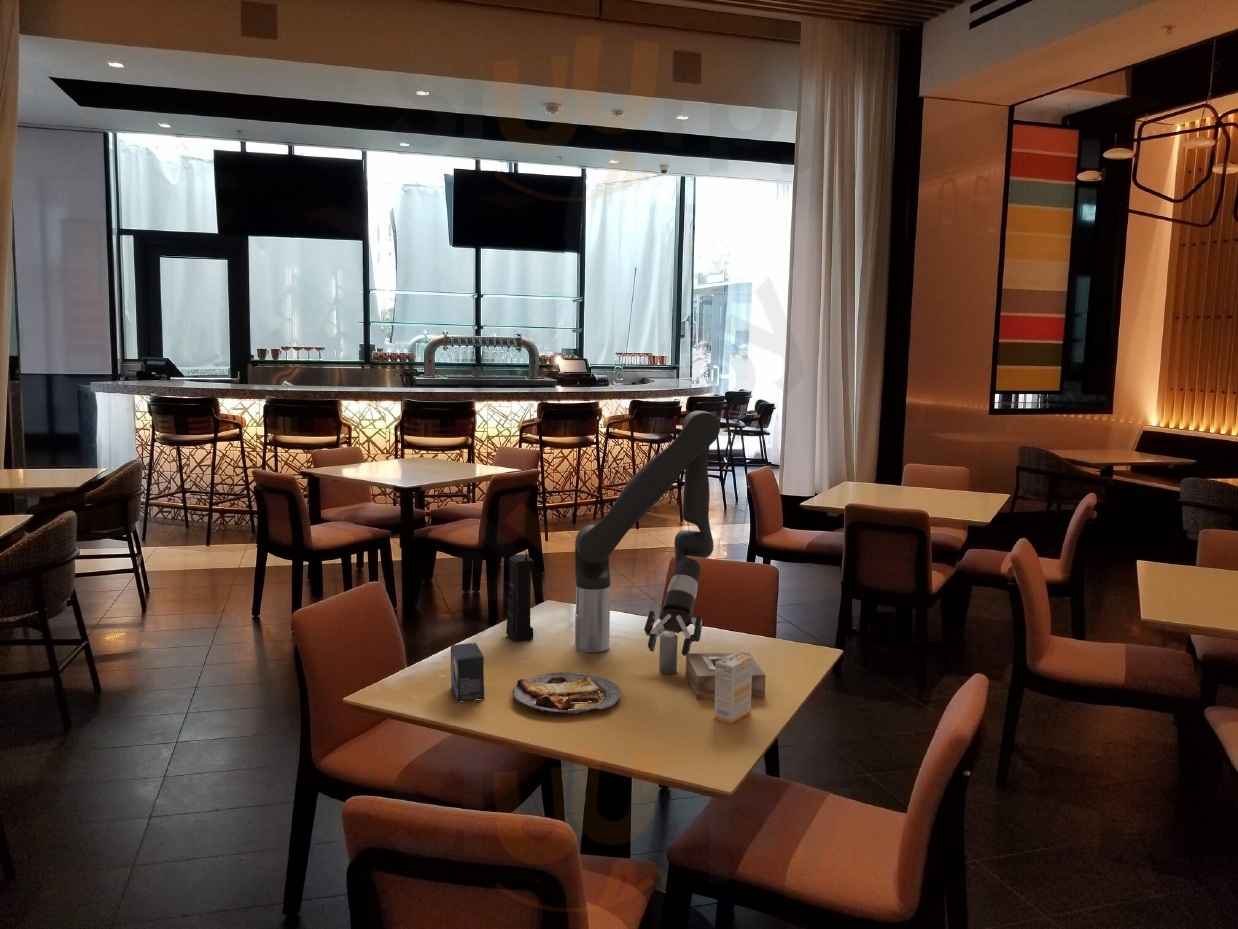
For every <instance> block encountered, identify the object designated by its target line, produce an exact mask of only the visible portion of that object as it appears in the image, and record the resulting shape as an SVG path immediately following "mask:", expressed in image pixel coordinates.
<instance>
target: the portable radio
mask: <svg viewBox="0 0 1238 929" xmlns="http://www.w3.org/2000/svg"><path fill="white" fill-rule="evenodd" d="M534 563H535V560H534V559H532V558H531V557H529V556H528V551H527V550H526V551H525V555H513V556H509V559H508V587H509V588H508V589H509V591H508V592H509V593H508V594H509V597H508V598H507V612H506V620H507V621H506V630H505V634H506V635H507V636H508V637H509V639H511V640H512V641H513V642H514V643H518V642H525V641H530V640H531V641H532V640H533V639H534V628H533V626H531V584H532V583H531V578H532V577H531V573H532V571H534V570H535V568H534V565H535V564H534Z"/></svg>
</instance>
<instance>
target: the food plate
mask: <svg viewBox="0 0 1238 929" xmlns="http://www.w3.org/2000/svg"><path fill="white" fill-rule="evenodd" d="M515 685H516V686H514V687H513V688H512V696H513V699H514V700H515V701H516V702H517V703H520V704H523V705H525V706H526V707H528V708H531V709H535V710H536V712H538V711H540V712H544V711H547V712H549V713H556V712H559V713H562V714H569V715H570V714H574V715H577V714H580V713H583V712H589V711H590V710H596V709H598V710H602V709H606V708H609V707H612V706H614V705H615V704H616V703H618V700H619V698H621V696H622V690H621V688H620V686H619V685H618V684H617V682H615V681H613V680H610V679H608V678H607V677H603V676H601V675H597V674H593V673H581V672H575V671H561V672H553V673H550V674H549V673H546V674H540V675H535V676H532V677H528V678H520V679H518V680H517V683H516V684H515ZM598 691H600V693H601V694H603V696H604V697H605V698H603V699H604V701H603V700H602V701H603V702H602V701H601V702H602V703H601V702H600V703H599V702H598V700H599V699H600V700H601V697H602V696H601V694H600V693H599V692H598ZM560 696H561V697H568V699H566V700H565V698H564V699H563V698H561V697H560ZM600 700H599V701H600ZM533 701H536V704H535V703H534V702H533ZM588 701H592V702H591V703H595V702H594V701H597V702H596V703H599V704H595V705H592V706H590V707H588V708H589V709H586V707H583V708H584V709H579V708H577V709H576V710H568V709H575V708H574V707H575V705H576V704H580V703H573V702H588ZM581 704H582V703H581ZM583 704H585V703H583ZM561 710H562V711H561ZM563 710H564V711H563Z"/></svg>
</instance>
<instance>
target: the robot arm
mask: <svg viewBox="0 0 1238 929" xmlns="http://www.w3.org/2000/svg"><path fill="white" fill-rule="evenodd" d="M720 430H721V423H720V420H719V419H718V417H717V416H716V415H715V414H714V413H711V412H708V411H705V410H694V411H692V412H689V413H688V414H687V415H686V416H685V417H684V419H683V421H682V426H681V431H680V432H679V434H678V435H677V436H676V437H675V439H674V440H673V441H672V442H671V443H670V444H669V445H668V446H667V447H666V448H664V449H663V450H662V451H661V452H659V453H658V454H656V455H655V456H654V457H653V458H651V459H650V460H648V461H647V462H646V463H645V464H644V465H643V466H642V467H641V468H640V469H639V470H638V471H637V472H636V473H635V474H634V475H633V476H632V477H631V479H630V480H628V481H627V483H626V485H625V486H624V487H623V489H622V491H620V494H619V495H618V496H617V498H616V501H615V502H614V504H613V505H612V507H611V508H610V510H608V512H607V513H606V515H605V516H603V517H602V519H600V520H599V521H598V522H597V523H596V524H588V525H585V526H583V527H582V528H580V530H579V531H578V532H577V534H576V537H575V544H574V568H575V571H574V572H575V574H574V575H575V612H574V618H575V619H574V622H575V623H574V648H575V651H576V652H583V653H592V654H593V653H601V652H605V651H608V650H609V648H610V631H611V630H610V629H611V628H610V622H611V621H610V618H611V617H610V616H611V612H610V611H611V572H610V555H612V553H613V552H614V550H615V549H616V547H617V546H618V545H619V544H620V543H621V541H622V539H623V538H624V537H625V535H626V534H627V533H628V532H629V531H630V530H631V528H633V527H634V526H635V524H636V523H638V522H639V521H640V520H641V519H642V518H643V517H645V515H646V514H647V513H648V512H649V511H650V509H651V508H653V507H654V506H655V505H656V504H657V502H658V501H659V500H661V498H662V497H663V496H664V494H666V493H667V492H668V490H669V489H670V488H671V487H672V486H673V484H675V483H676V481H677V480H678V479H679V477H680V476H681V475H682V473H684V483H683V484H684V485H683V498H682V499H683V500H682V519H683V521H685V522H687V523H690V524H693V525H695V526H696V527H697V529H698V531H696V530H688V529H686V530H685V529H683V530H679V531H678V533H676V535H675V537H674V542H673V543H674V552H675V553H674V554H675V555H674V556H675V558H674V559H675V560H674V567H673V568H674V569H673V572H672V575H671V579H670V582H669V584H668V588H667V591H666V594H665V595H666V596H665V600H664V604H663V608H662V611H661V613H657V612H654V611H653V610H650V611H649V613H648V616H647V619H646V623H645V626H644V629H643V630H644V633H645V635H646V636H648V637H649V639H648V643H647V647H648V649H649V651H650V652H653V653H654V652H655V648H656V643H657V641H658V640H657V638H658V637H660V635H662V633H663V631H674V632H675V634H680V633H681V632H682V634H683V636H684V637H685V638H684V639H683V640H684V641H683V645H682V649H681V654H682V656H684V657H686V653H690V649H691V645H692V643H693V642H697V643H699V642H700V640H701V633H702V628H703V620H702V617H701V616H700V615H699V616H698V615H697V616H696V617H692V614H693V610H694V606H695V601H696V600H697V592H698V584H699V580H700V576H701V570H702V565H701V564H700V563H699V562H698V561H697V560H695V559H693V558H699V559H706V558H709V557H710V556H711V555H712V553H713V550H714V538H713V535H712V530H711V525H710V517H709V514H710V513H709V511H710V492H711V491H710V479H709V469H708V467H709V466H708V463H709V461H708V460H709V450H710V446H711V445H712V444H714V442H715V441H716V440H717V439H718V437H719V435H720V432H721V431H720ZM690 557H691V558H690ZM658 620H660V621H659V622H658V623H657V621H658ZM655 623H657V624H656V625H655V627H654V624H655ZM691 624H693V626H694V629H693V634H691V633H690V632H689V630H688V627H689V626H690V625H691Z"/></svg>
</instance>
